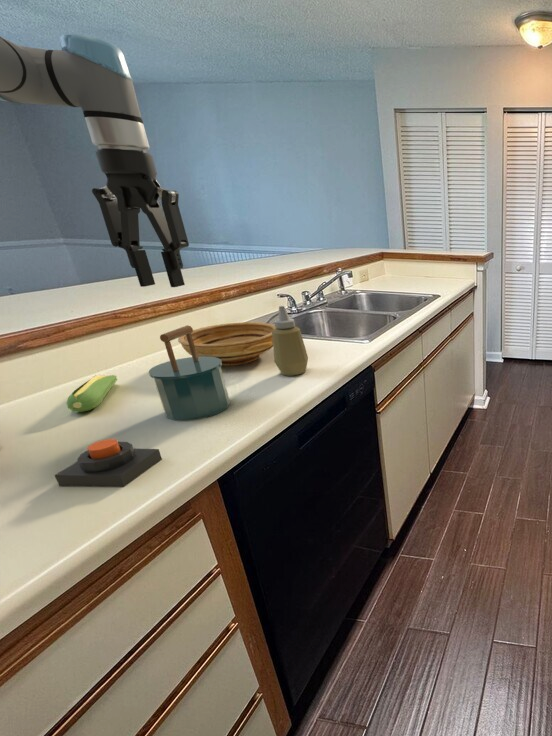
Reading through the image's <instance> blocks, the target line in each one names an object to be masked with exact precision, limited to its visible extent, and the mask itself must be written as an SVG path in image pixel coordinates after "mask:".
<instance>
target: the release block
mask: <svg viewBox="0 0 552 736" xmlns="http://www.w3.org/2000/svg"><path fill="white" fill-rule="evenodd" d="M118 444H119V446H120V449H121V450H120V451H119V452H118V453H116V454H114V455H111V456H108V457H105V458H100V459H92V458H91V456H90V454H89V452H88V449H87V450H86V451H84V452H81V454H79V456H78V458H77V459H76V462H74V463H72V464H70V465H69V466H67V467H66V468H64V469H61V470H60V471H59V472H57V473H56V474H54V477H55V480H56V482H57V484H58V486H59V487H85V488H86V487H89V488H91V487H92V488H125V487H127V486H128V485H129V484H130V483H132V482H133V481H134V480H136V479H137V478H138V477H140V476H142V474H144V473H146V472H147V471H148V470H150V469H152V467H154V466H155V465H157V464H158V463H159V462H160V461H162V460H163V458H162V455H161V452H160V449H159V448H134V445H133V444H132V443H131V442H128V441H118Z"/></svg>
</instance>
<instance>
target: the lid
mask: <svg viewBox="0 0 552 736" xmlns="http://www.w3.org/2000/svg"><path fill="white" fill-rule="evenodd" d="M193 330H194V329H193V327H192V326H191V325H185V326H182V327H181V326H180V327H179V328H176V329H173V330H171V331H167V332H164V333H162V334H160V335H159V339H160V341H161V342H163V343H164V347H165V349H166V352H167V356H168V359H169V360H168V361H165V362H162V363H159V364H157V365H154V366H153V367H150V369H149V370H148V375H149V377H150V378H152V379H153V378H155V379H182V378H189V377H194V376H198V375H202V374H206V373H209V372H212V371H214V370H216V369H218V368H219V367H221V368H222V366H223V365H222V361H221V359H219V358H216V357H198V356H197V353H196V349H195V346H194V342H193V338H192V335H191V333H192V332H193ZM184 335H186V337H187V340H188V344H189V347H190V351H191V354H192V355H191V356H190V357H189V356H188V357H183V358H178V359H177V358H176V356H175V352H174V350H173V346H172V343H171V342H172V341H173V340H176V339H178V338H179V337H182V336H184Z"/></svg>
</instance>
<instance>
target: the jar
mask: <svg viewBox="0 0 552 736" xmlns="http://www.w3.org/2000/svg"><path fill="white" fill-rule="evenodd" d="M152 379H153V382H154V385H155V388H156V390H157V393H158V397H159V400H160V403H161V405H162V409H163V412H164V414H165V417H166V418H167V419H168V420H171V421H175V422H187V421H195V420H201V419H205V418H210V417H213V416H215V415H219V414H220V413H222V412H224V411H225V410H227V409H228V408H229V407H230V405H231V403H230V402H231V401H230V398H229V397H230V396H229V393H228V389H227V386H226V382H225V377H224V374H223V370H222V366H221V367H219V368H218V369H216V370H214V371H212V372H209V373H206V374H202V375H198V376H194V377H189V378H182V379H155V378H152Z"/></svg>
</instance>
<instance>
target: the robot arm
mask: <svg viewBox="0 0 552 736" xmlns="http://www.w3.org/2000/svg"><path fill="white" fill-rule="evenodd" d="M59 39H60V44H61V45H60V48H61V49H46V48H38V47H31V46H24V45H19V44H16V43H14V42H12V41H10V40H9V39H6V38H4V37H2V36H0V102H1V101H2V102H9V103H14V104H16V105H23V104H29V105H30V104H32V105H44V106H45V105H47V106H61V107H62V106H63V107H72V108H81V110H82V114H83V117H84V120H85V123H86V126H87V130H88V133H89V136H90V140H91V144H92V145H93V146H96V147H98V149H96V150H95V151H94V152H95V155H96V157H97V161H98V165H99V168H100V171H101V172H102V173H103V174H104V175H105V177H106V183H105V186H103V187H101V188H99V187H93V188H92V189H91V192H92V194H93V196H94V197H95V199H96V201H97V202H98V204H99V207H100V211H101V214H102V217H103V220H104V224H105V227H106V230H107V233H108V237H109V240H110V244H111V245H112V246H113V247H115V248H116V247H118V248H121V249H123V250H124V251H125V253H126V255H127V258H128V262H129V265H130V267H131V268H132V269H134V271H135V274H136V277H137V279H138V283H139V286H140V287H143V288H144V287H145V288H146V287H150V286H155V285H156V282H155V278H154V275H153V272H152V267H151V266H150V262H149V259H148V254H147V251H146V249H143V248H144V246H141V245H140V223H139V213H140V212H142V213H143V214H145V215H146V216H147V219H148V220H149V222H150V224H151V227H152V228H153V230H154V232H155V234H156V236H157V238H158V239H159V241H160V243H161V245H162V247H163V248H162V249H161V250H162V251H160V252H161V253H160V254H161V257H162V260H163V264H164V268H165V271H166V274H167V278H168V281H169V285H170V288H179V287H182V286H185V285H186V284H185V281H184V276H183V273H182V269H184V263H183V261H182V260H183V259H182V255H181V250H182V249H185V248H188V247H189V246H190V244H189V239H188V235H187V232H186V228H185V224H184V222H183V217H182V213H181V210H180V207H179V197H180V195H179V192H178V191H177V190H171V189H167V188H164V187H162V186H161V184H160V183H159V181H158V180H157V175H158V172H157V168H156V164H155V161H154V157H153V155H152V154H151V153H150V152H148V151H149V150H150V148H151V146H150V143H149V140H148V136H147V132H146V128H145V124H144V121H143V119H142V114H141V110H140V106H139V102H138V98H137V94H136V90H135V87H134V83H133V82H134V80H133V77H132V76H131V72H130V70H129V66H128V64H127V61H126V58H125V55H124V53H123V51H122V50H121V49H120V47H118V46H117V45H115V44H114V43H112V42H110V41H107V40H105V39H102V38H99V37H95V36H91V35H86V34H81V33H80V34H78V33H71V34H70V33H65V34H62V35H61V36H60V38H59ZM159 200H161V203H160V201H159Z"/></svg>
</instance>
